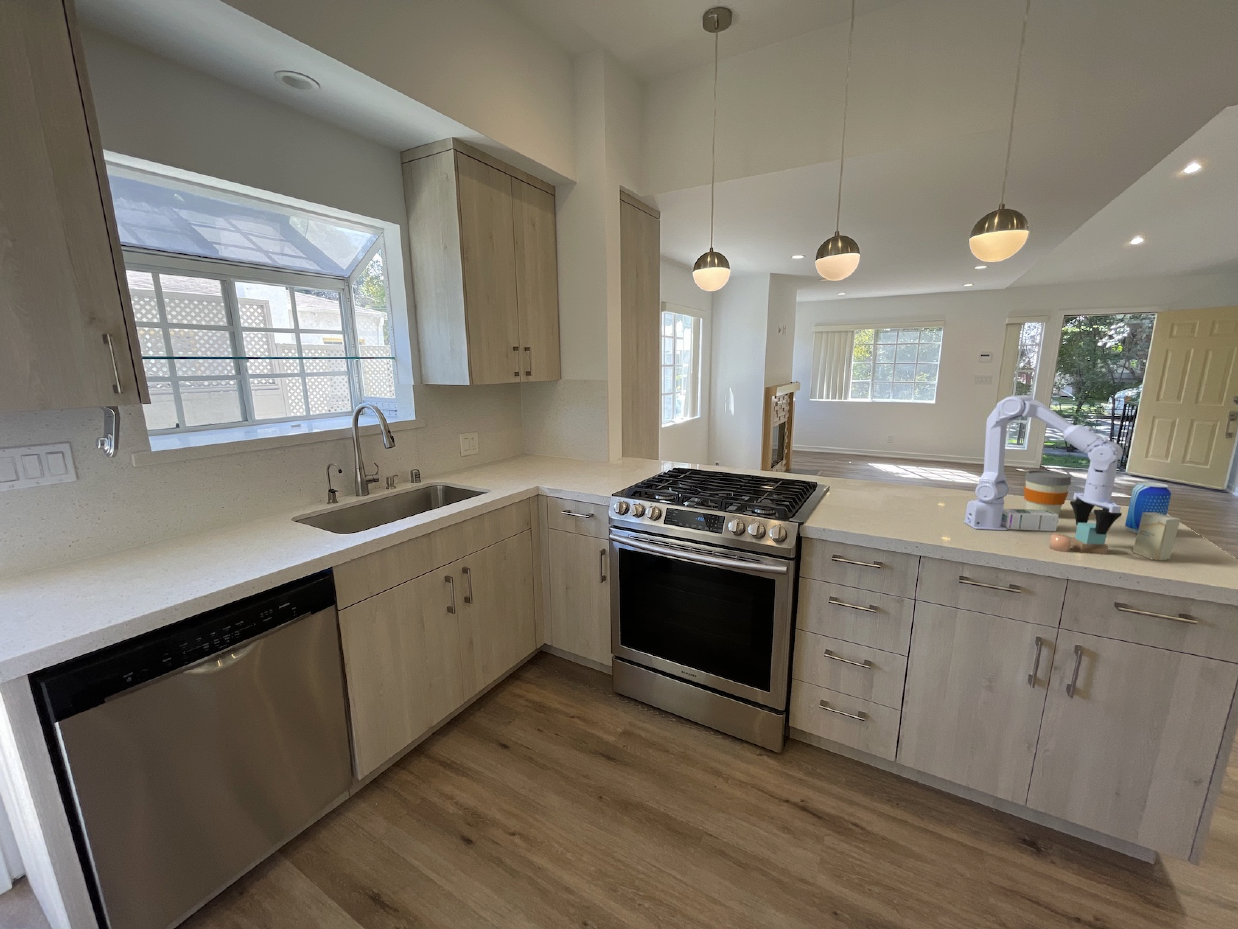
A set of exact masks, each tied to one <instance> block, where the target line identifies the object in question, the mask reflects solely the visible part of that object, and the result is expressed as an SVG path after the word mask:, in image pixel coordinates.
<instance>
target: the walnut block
mask: <svg viewBox="0 0 1238 929" xmlns="http://www.w3.org/2000/svg"><path fill="white" fill-rule="evenodd" d="M1070 537H1071V538H1072V539H1071V544H1070V548H1072V549H1074V550H1075V551H1076V552H1079V553H1082V554H1094V555H1105V556H1106V555H1107V554H1108V548H1109V545H1107V544H1106V543H1105V544H1104V545H1099V544H1086V543H1083V542H1081V541H1079V540H1077V539H1075V537H1074V536H1070Z"/></svg>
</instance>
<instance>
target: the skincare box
mask: <svg viewBox="0 0 1238 929" xmlns="http://www.w3.org/2000/svg"><path fill="white" fill-rule="evenodd" d="M1180 522H1181V518H1179V517H1174V516H1171V515H1168V514H1167V515H1163V514H1160V513H1156V512H1148V513H1143V514H1142V518H1141V521H1140V525H1139V529H1138V533H1136V538H1135V542H1134V545H1133V548H1132V553H1134V554H1137V555H1140V556H1142V555H1143V557H1145V556H1146V557H1145V558H1148V557H1149V559H1150V558H1152V559H1151V560H1153V559H1155V560H1154V561H1168V560H1167V559H1169V560H1170V558H1171V555H1172V551H1173V547H1174V544H1175V541H1176V536H1177V532H1178V529H1179V525H1180Z"/></svg>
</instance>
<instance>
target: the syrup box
mask: <svg viewBox="0 0 1238 929" xmlns="http://www.w3.org/2000/svg"><path fill="white" fill-rule="evenodd" d="M1059 515H1060V514H1059ZM1059 515H1057V514H1055V513H1053V512H1050V511H1048V510H1028V509H1026V508H1025V509H1024V508H1023V509H1022V508H1003V513H1002V520H1001V526H1002V527H1005V528H1006V529H1007V530H1018V531H1019V530H1021V531H1022V530H1023V531H1038V532H1039V531H1041V532H1056V531H1057V528H1058V524H1059V523H1058V522H1059V517H1060V516H1059Z"/></svg>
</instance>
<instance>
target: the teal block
mask: <svg viewBox="0 0 1238 929" xmlns="http://www.w3.org/2000/svg"><path fill="white" fill-rule="evenodd" d="M1076 526H1077V527H1076V531H1075V539H1077V540H1079V541H1081V542H1083V543H1086V544H1099V545H1104V544H1106V538H1107V533H1108V532H1107V533H1106V535H1103V534H1096V522H1087V523H1078V525H1076Z"/></svg>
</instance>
